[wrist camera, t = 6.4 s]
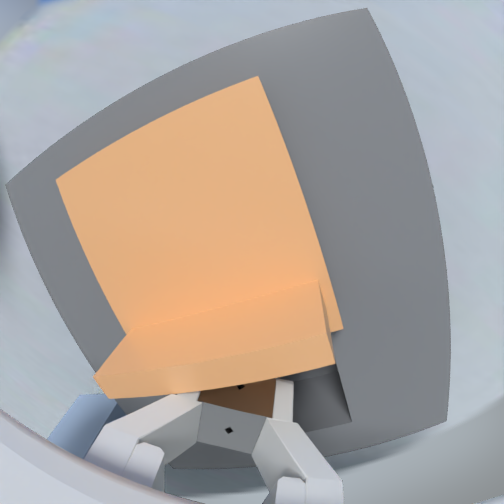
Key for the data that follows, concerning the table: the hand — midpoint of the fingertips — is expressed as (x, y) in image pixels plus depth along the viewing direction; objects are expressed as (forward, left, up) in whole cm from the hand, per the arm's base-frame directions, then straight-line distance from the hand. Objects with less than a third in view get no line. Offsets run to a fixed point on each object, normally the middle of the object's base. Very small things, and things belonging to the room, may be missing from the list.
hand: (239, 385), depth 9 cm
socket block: (0, +1, -6) cm, 6 cm away
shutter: (0, +4, -1) cm, 4 cm away
